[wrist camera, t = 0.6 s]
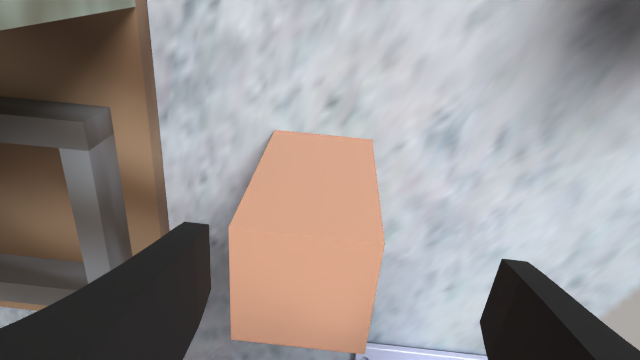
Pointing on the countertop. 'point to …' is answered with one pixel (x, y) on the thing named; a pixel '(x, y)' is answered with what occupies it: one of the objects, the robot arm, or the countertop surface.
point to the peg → (307, 245)
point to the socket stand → (75, 145)
